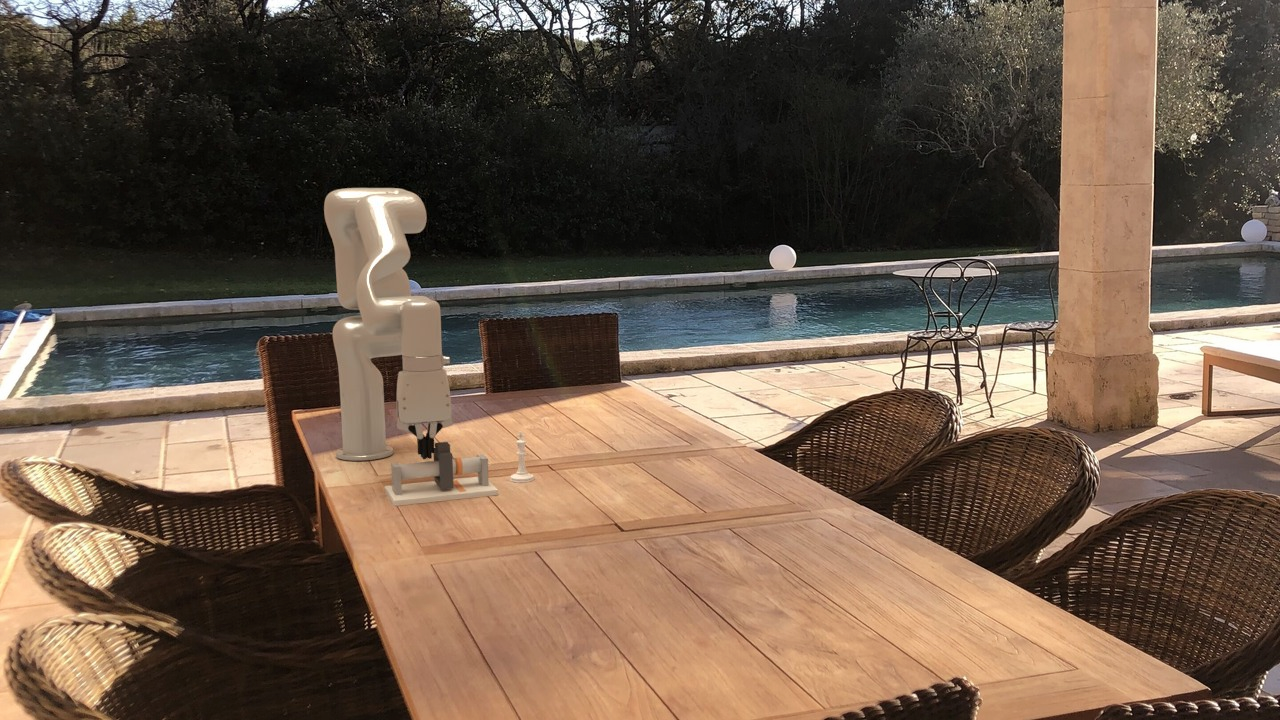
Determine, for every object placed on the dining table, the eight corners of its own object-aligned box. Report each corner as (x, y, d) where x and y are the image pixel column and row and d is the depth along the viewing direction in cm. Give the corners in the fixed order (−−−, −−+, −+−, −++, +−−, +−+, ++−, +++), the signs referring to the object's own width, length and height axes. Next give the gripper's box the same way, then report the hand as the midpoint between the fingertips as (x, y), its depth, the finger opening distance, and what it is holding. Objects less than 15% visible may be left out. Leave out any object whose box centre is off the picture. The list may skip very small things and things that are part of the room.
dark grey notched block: (441, 489, 217) (439, 447, 216) (434, 481, 223) (433, 440, 222) (453, 488, 218) (452, 446, 216) (446, 480, 224) (445, 439, 223)
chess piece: (530, 483, 227) (528, 434, 226) (506, 482, 228) (505, 433, 227) (537, 477, 232) (536, 429, 231) (514, 476, 233) (513, 429, 232)
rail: (394, 506, 211) (392, 471, 210) (384, 491, 222) (383, 458, 221) (498, 494, 218) (497, 461, 217) (484, 480, 229) (482, 449, 228)
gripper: (457, 359, 222) (460, 450, 224) (380, 364, 217) (384, 457, 219) (465, 364, 215) (468, 458, 217) (385, 369, 210) (390, 465, 212)
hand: (426, 457), depth 218 cm, fingers closed
